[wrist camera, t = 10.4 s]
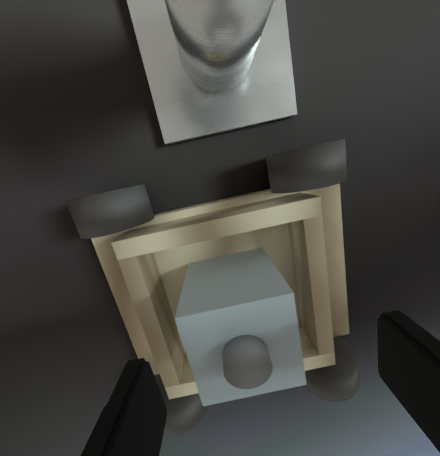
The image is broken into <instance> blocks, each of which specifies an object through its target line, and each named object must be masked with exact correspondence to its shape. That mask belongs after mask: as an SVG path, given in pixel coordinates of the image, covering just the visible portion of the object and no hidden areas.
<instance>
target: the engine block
mask: <svg viewBox="0 0 440 456" xmlns="http://www.w3.org/2000/svg"><path fill="white" fill-rule="evenodd" d="M175 320H176V324H177V327H178V330H179V333H180V336H181V339H182V342H183V345H184V349H185V352H186V355H187V358H188V361H189V364H190V367H191V370H192V374H193V377H194V380H195V383H196V386H197V389H198V392H199V395H200V399H201V402H202V405H203V406H207V405H212V404H217V403H222V402H227V401H231V400H236V399H241V398H246V397H250V396H255V395H260V394H265V393H269V392H274V391H279V390H284V389H288V388H293V387H298V386H303V385H307V384H306V376H305V369H304V362H303V355H302V348H301V341H300V334H299V327H298V320H297V313H296V305H295V298H294V293H293V291H292V290H291V288H290V287H289V285H288V284H287V282H286V281H285V280H284V278H283V277H282V275H281V274H280V272H279V271H278V270H277V268H276V267H275V265H274V264H273V262H272V261H271V259H270V258H269V257H268V255H267V254H266V252H265V251H264V249H263V248H262V247H260V248H256V249H251V250H247V251H242V252H237V253H233V254H228V255H224V256H219V257H215V258H210V259H206V260H201V261H196V262H192V263H188V267H187V271H186V275H185V279H184V283H183V288H182V292H181V296H180V300H179V304H178V308H177V312H176V316H175Z"/></svg>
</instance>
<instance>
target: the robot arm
mask: <svg viewBox="0 0 440 456" xmlns="http://www.w3.org/2000/svg"><path fill="white" fill-rule="evenodd" d="M377 328H378V370H379V374H380V376H381V378H382V380H383V381H384V383H385V384H386V385H387V386H388V388H389V389H390V390H391V391H392V393H393V394H394V395H395V397H396V398H397V399H398V400H399V402H400V403H401V404H402V405H403V407H404V408H405V409H406V410H407V412H408V413H409V414H410V415H411V417H412V418H413V419H414V421H415V422H416V423H417V424H418V426H419V427H420V428H421V429H422V431H423V432H424V433H425V434H426V436H427V437H428V438H429V439H430V441H431V442H432V443H433V445H434V446H435V447H436V448H437V450H438V451H439V452H440V341H439V340H437V339H436V338H435V337H433V336H432V335H431V334H430V333H428V332H427V331H426V330H424V329H423V328H422V327H420V326H419V325H418V324H416V323H415V322H414V321H413V320H411V319H410V318H409V317H407V316H406V315H405V314H403V313H402V312H400V311H392V312H387V313H382V314H381V316H380V318H378V320H377ZM166 418H167V408H166V405H165V403H164V400H163V397H162V395H161V392H160V389H159V387H158V384H157V382H156V379H155V376H154V374H153V371H152V368H151V366H150V363H149V362H148V361H145V359H144V358H140V359H134V360H129V361H128V362H127V364H126V365H125V368H124V370H123V372H122V374H121V376H120V378H119V380H118V382H117V384H116V387H115V389H114V391H113V393H112V395H111V397H110V399H109V401H108V403H107V405H106V406H105V407H104V409H103V411H102V413H101V415H100V417H99V419H98V421H97V423H96V425H95V427H94V429H93V431H92V433H91V436H90V438H89V440H88V442H87V444H86V446H85V448H84V450H83V452H82V454H81V456H159V453H160V448H161V443H162V438H163V433H164V428H165V423H166Z"/></svg>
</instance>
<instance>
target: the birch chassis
mask: <svg viewBox="0 0 440 456" xmlns="http://www.w3.org/2000/svg"><path fill="white" fill-rule="evenodd" d="M266 162H267V169H268V175H269V182H270V189H266V190H261V191H257V192H252V193H248V194H243V195H239V196H234V197H230V198H225V199H221V200H216V201H212V202H207V203H203V204H198V205H194V206H189V207H185V208H180V209H176V210H171V211H167V212H162V213H157V214H154V213H153V210H152V207H151V203H150V200H149V197H148V194H147V190H146V187H145V184H142V185H137V186H132V187H127V188H122V189H117V190H113V191H108V192H103V193H99V194H94V195H90V196H85V197H81V198H76V199H72V200H68V201H66V204H67V206H68V208H69V211H70V213H71V216H72V218H73V221H74V223H75V226H76V228H77V230H78V233H79V235H80V238H81V239H91V240H92V243H93V245H94V248H95V250H96V253H97V255H98V258H99V260H100V263H101V266H102V268H103V271H104V273H105V276H106V278H107V281H108V283H109V286H110V288H111V291H112V293H113V296H114V298H115V301H116V303H117V306H118V309H119V311H120V314H121V316H122V319H123V321H124V324H125V326H126V329H127V331H128V334H129V336H130V339H131V341H132V344H133V347H134V349H135V352H136V354H137V357H138V359H140V358H144V359H145V361H148V362H149V363H150V366H151V368H152V371H153V374H154V375H155V379H156V382H157V384H158V387H159V389H160V392H161V395H162V397H163V400H164V403H165V405H166V408H167V418H166V423H165V428H164V434H166V435H170V436H176V435H181V434H183V433H186V432H187V431H189V430H190V429H192V428H193V427H194V426H195V425H196V424H197V423H198V422H199V421H200V419H201V418H202V416H203V414H204V412H205V410H206V407H207V406H203V405H202V402H201V399H200V395H199V392H198V389H197V386H196V383H195V380H194V377H193V374H192V370H191V367H190V364H189V361H188V358H187V355H186V352H185V349H184V345H183V342H182V339H181V336H180V333H179V330H178V327H177V324H176V320H175V316H176V312H177V308H178V304H179V300H180V296H181V292H182V288H183V283H184V279H185V275H186V271H187V267H188V263H192V262H196V261H201V260H206V259H210V258H215V257H219V256H224V255H228V254H233V253H237V252H242V251H247V250H251V249H256V248H260V247H262V248H263V249H264V251H265V252H266V254H267V255H268V257H269V258H270V259H271V261H272V262H273V264H274V265H275V267H276V268H277V270H278V271H279V272H280V274H281V275H282V277H283V278H284V280H285V281H286V282H287V284H288V285H289V287H290V288H291V290H292V291H293V293H294V298H295V305H296V313H297V320H298V327H299V334H300V341H301V348H302V355H303V362H304V369H305V376H306V384H307V385H304V386H305V387H306V388H307V389H308V390H309V391H310V392H311V393H313V394H314V395H316V396H317V397H319V398H322V399H324V400H328V401H333V402H340V401H345V400H348V399H350V398H351V397H352V396H354V394H355V393H356V392H357V389H358V385H359V382H358V363H357V355H356V352H355V350H354V348H353V347H352V346H351V345H350V344H349V342H347V341H346V340H345V339H344V338H342V337H340V336H342V335H347V334H349V320H348V304H347V289H346V273H345V258H344V242H343V227H342V211H341V196H340V183H342V182H345V181H346V180H347V163H346V145H345V139H341V140H336V141H332V142H327V143H323V144H318V145H314V146H309V147H305V148H301V149H296V150H292V151H288V152H284V153H280V154H275V155H272V156H268V157H266Z"/></svg>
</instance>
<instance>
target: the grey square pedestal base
mask: <svg viewBox="0 0 440 456" xmlns="http://www.w3.org/2000/svg"><path fill="white" fill-rule="evenodd" d="M127 4H128V8H129V11H130V15H131V19H132V23H133V26H134V30H135V34H136V38H137V41H138V45H139V49H140V53H141V56H142V60H143V64H144V68H145V72H146V75H147V79H148V83H149V87H150V90H151V94H152V98H153V102H154V105H155V109H156V113H157V117H158V121H159V124H160V128H161V132H162V136H163V139H164V143H165V145H171V144H175V143H179V142H184V141H188V140H193V139H197V138H202V137H206V136H211V135H215V134H219V133H224V132H228V131H233V130H237V129H242V128H246V127H250V126H255V125H259V124H264V123H268V122H273V121H277V120H282V119H286V118H290V117H294V116H295V115H297V107H296V98H295V89H294V79H293V70H292V61H291V51H290V42H289V33H288V24H287V14H286V5H285V0H127Z"/></svg>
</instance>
